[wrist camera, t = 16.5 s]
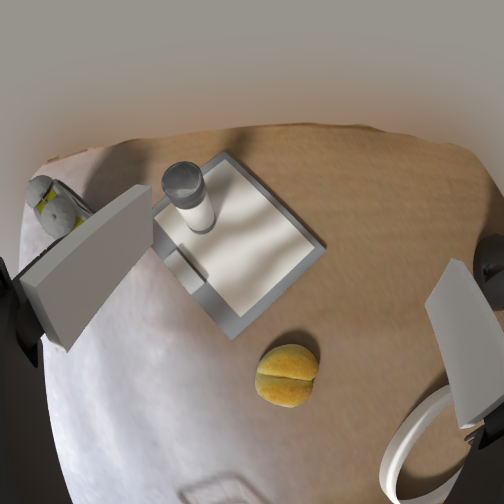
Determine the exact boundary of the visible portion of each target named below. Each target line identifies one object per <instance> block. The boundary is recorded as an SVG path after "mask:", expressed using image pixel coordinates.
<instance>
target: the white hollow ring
mask: <svg viewBox="0 0 504 504" xmlns="http://www.w3.org/2000/svg"><path fill="white" fill-rule="evenodd" d="M452 402H454V401H453V396H452V392H451V388H450V384H448V385H446V386H444V387H442V388H440V389H439V390H437V391H435V392H434V393H433V394H431V395H430V396H429V397H427V398H426V399H425V400H424V401H423V402H422V403H421V404H419V405H418V406H417V407H416V408H415V409H414V410H413V411H412V413H411V414H410V415H409V416H408V417H407V418H406V420H405V421H404V422H403V423H402V425H401V426H400V427H399V429H398V430H397V432H396V433H395V435H394V436H393V438H392V440H391V442H390V443H389V445H388V447H387V449H386V452H385V454H384V457H383V459H382V463H381V467H380V474H379V479H380V485H381V488H382V490H383V491H384V493H385V494H386V495H387V496H388V498H389V499H390V500H391V501H392V502H393V503H395V504H436V503H438V502H440V501H442V500H444V499H445V498H447V496H448V494H449V493H450V491H451V489H452V487H453V485H454V483H455V481H456V479H457V477H458V475H459V473H460V471H461V469H462V467H463V466H462V467H461V468H460V470H459V471H458V472H457V473H456V474H455V475H454V476H453V477H452V478H451V479H449V480H448V481H447V482H446V483H444V484H443V485H442V486H440V487H439V488H437V489H436V490H434V491H432V492H430V493H428V494H426V495H424V496H421V497H419V498H415V499H410V500H397V497H396V481H397V477H398V474H399V471H400V469H401V467H402V464H403V462H404V460H405V458H406V457H407V455H408V453H409V451H410V450H411V448H412V447H413V445H414V444H415V442H416V441H417V439H418V438H419V437H420V435H421V434H422V433H423V431H424V430H425V429H426V428H427V427H428V425H429V424H430V423H431V422H432V421H433V420H434V419H435V418H436V417H437V416H438V415H439V414H440V413H441V412H442V411H443V410H444V409H445V408H446V407H447V406H448V405H450V404H451V403H452ZM484 424H485V423H484Z"/></svg>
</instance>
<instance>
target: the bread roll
mask: <svg viewBox="0 0 504 504" xmlns="http://www.w3.org/2000/svg"><path fill="white" fill-rule="evenodd" d="M318 369H319V366H318V362H317V360H316V358H315V357H314V355H313V354H312V353H311V352H310V351H309V350H307V349H306V348H305V347H303V346H300V345H297V344H287V345H282V346H279V347H275V348H274V349H272V350H270V351H269V352H268V353H267V354H266V355H264V357H263V358H262V359H261V361H260V362H259V364H258V367H257V372H256V377H255V386H256V389H257V392H258V394H259V395H260V396H261V397H263V398H264V399H265V400H268V401H269V402H271V403H273V404H275V405H280V406H285V407H291V408H293V407H294V406H296V405H299V404H301V403H303V402H305V401H306V400H307V399H308V397H309V396H310V394H311V392H312V388H313V383H312V379H313V378H314V377H315V376H316V375H317V373H318Z"/></svg>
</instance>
